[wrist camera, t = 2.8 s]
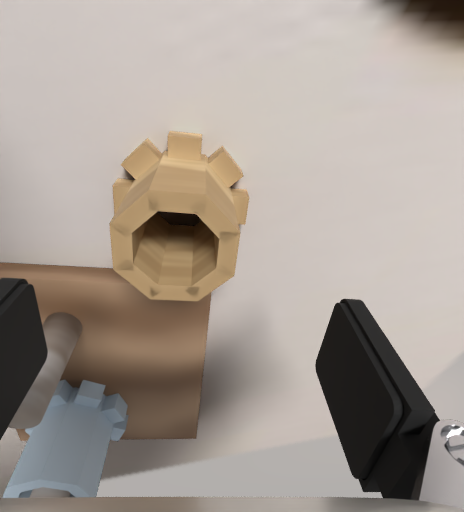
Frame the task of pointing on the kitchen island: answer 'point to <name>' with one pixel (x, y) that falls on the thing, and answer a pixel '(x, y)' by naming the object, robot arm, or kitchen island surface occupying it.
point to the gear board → (116, 350)
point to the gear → (70, 442)
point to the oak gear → (177, 236)
